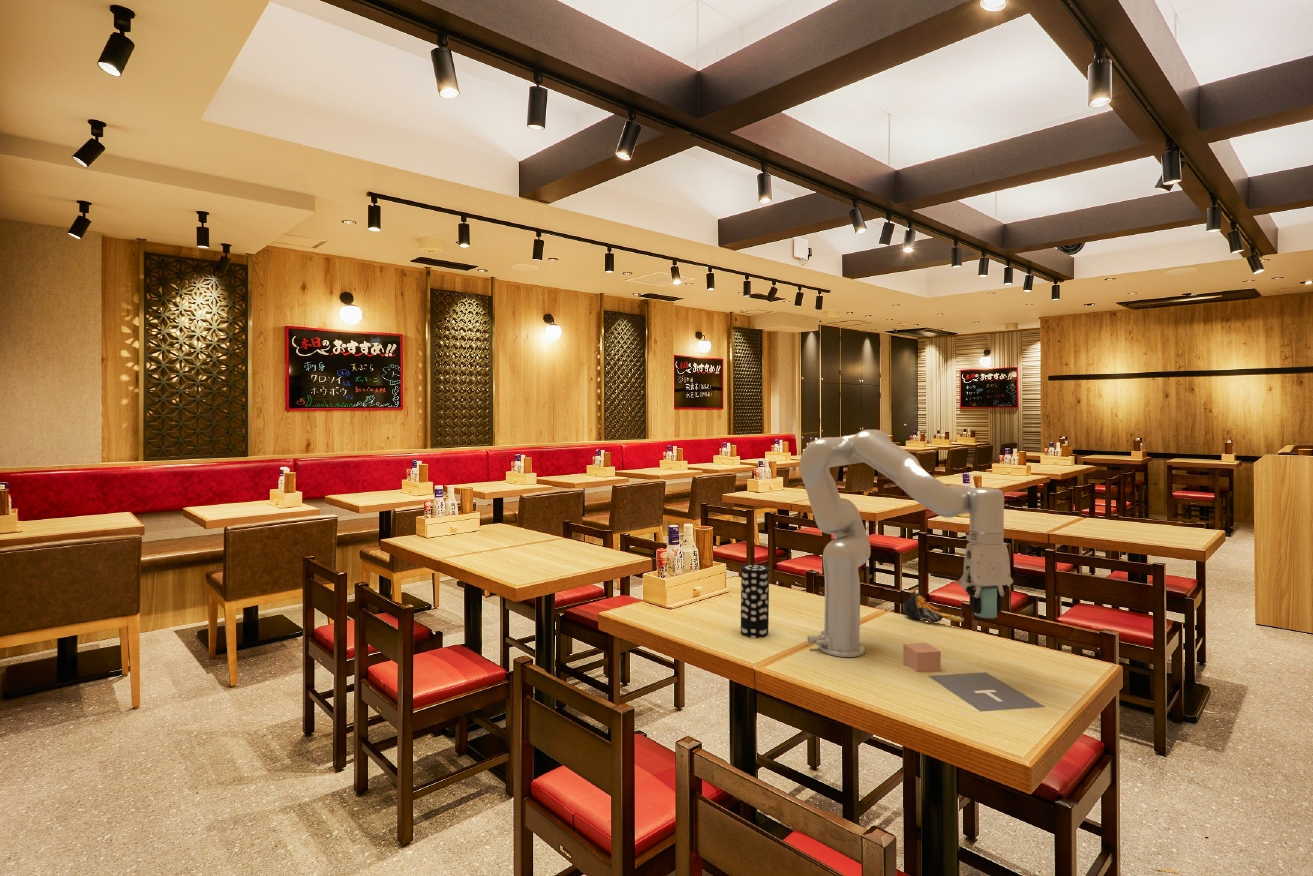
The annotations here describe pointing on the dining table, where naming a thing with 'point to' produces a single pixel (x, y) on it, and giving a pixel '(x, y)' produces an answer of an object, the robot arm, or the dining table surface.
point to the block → (921, 657)
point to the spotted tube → (754, 601)
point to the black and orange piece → (925, 610)
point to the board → (985, 692)
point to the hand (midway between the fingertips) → (985, 611)
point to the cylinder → (988, 602)
